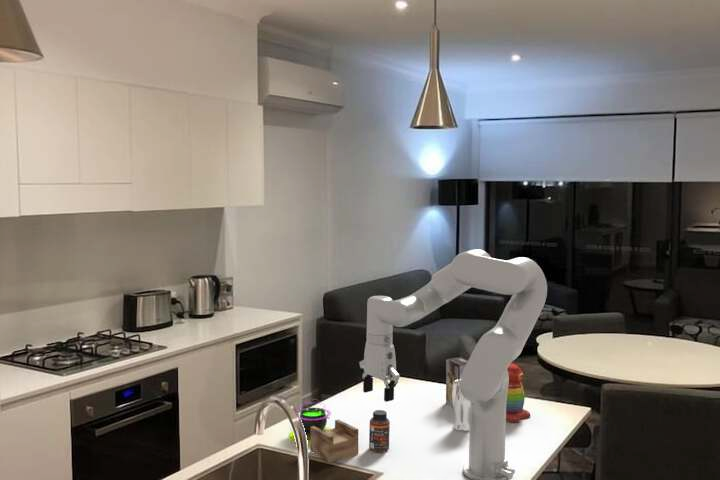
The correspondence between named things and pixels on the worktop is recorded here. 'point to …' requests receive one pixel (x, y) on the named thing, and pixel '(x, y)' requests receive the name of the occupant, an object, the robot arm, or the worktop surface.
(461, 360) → the coffee box
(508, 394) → the stacking bear
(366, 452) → the worktop surface
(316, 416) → the toy cauldron
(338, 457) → the pedestal
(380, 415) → the supplement bottle
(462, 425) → the white cylindrical cup
